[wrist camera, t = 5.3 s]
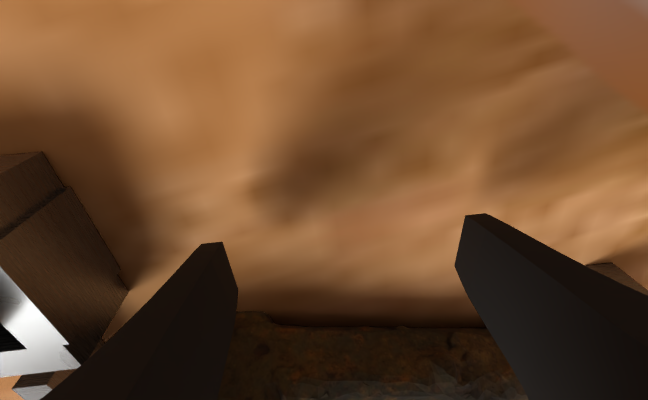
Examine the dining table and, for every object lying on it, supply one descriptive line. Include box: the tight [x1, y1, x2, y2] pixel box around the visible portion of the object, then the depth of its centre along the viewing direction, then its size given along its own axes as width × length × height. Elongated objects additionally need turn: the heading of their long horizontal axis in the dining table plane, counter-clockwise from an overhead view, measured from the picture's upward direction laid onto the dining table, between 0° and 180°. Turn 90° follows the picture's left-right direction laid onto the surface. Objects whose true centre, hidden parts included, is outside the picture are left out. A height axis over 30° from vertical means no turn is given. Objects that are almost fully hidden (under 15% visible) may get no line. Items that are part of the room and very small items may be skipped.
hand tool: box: [217, 312, 529, 400], centre depth 12 cm, size 19×4×5 cm, turn 79°
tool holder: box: [0, 152, 648, 400], centre depth 11 cm, size 14×27×3 cm, turn 94°
